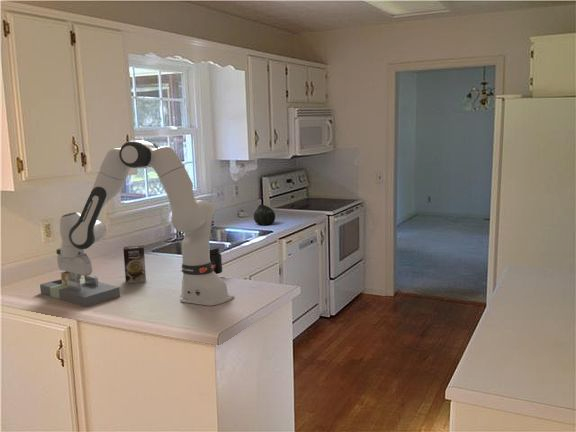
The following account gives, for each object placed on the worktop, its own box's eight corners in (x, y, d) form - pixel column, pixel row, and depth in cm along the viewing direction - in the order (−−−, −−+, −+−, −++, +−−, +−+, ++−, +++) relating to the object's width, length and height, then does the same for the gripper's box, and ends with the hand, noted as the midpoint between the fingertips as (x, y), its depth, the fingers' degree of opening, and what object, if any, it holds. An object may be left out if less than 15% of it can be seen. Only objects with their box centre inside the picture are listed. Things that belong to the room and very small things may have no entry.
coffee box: (125, 284, 242) (122, 249, 240) (125, 280, 248) (123, 246, 246) (146, 282, 245) (143, 247, 242) (146, 278, 251) (143, 244, 248)
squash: (280, 217, 376) (272, 200, 382) (261, 220, 368) (253, 203, 374) (273, 228, 386) (265, 211, 393) (255, 231, 379) (247, 214, 385)
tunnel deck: (120, 296, 225) (118, 278, 223) (85, 307, 212) (84, 288, 211) (74, 284, 245) (73, 268, 244) (40, 293, 232) (39, 276, 231)
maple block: (79, 282, 232) (77, 271, 231) (68, 285, 228) (67, 274, 227) (72, 281, 235) (71, 270, 234) (62, 284, 231) (60, 272, 230)
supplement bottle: (212, 270, 262) (211, 246, 260) (225, 271, 259) (223, 246, 257) (205, 273, 255) (204, 249, 254) (218, 274, 253) (216, 250, 251)
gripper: (94, 252, 222) (97, 284, 225) (67, 246, 235) (70, 277, 237) (80, 255, 217) (83, 288, 220) (53, 249, 230) (56, 281, 232)
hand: (76, 282), depth 228 cm, fingers closed
